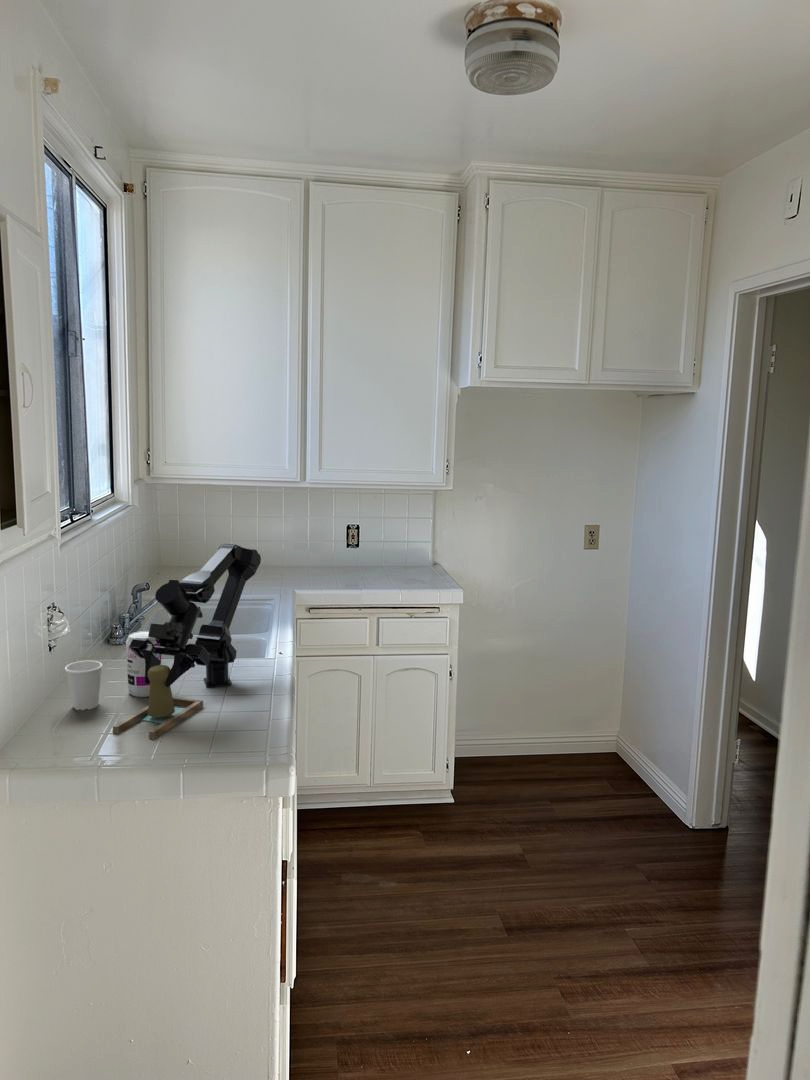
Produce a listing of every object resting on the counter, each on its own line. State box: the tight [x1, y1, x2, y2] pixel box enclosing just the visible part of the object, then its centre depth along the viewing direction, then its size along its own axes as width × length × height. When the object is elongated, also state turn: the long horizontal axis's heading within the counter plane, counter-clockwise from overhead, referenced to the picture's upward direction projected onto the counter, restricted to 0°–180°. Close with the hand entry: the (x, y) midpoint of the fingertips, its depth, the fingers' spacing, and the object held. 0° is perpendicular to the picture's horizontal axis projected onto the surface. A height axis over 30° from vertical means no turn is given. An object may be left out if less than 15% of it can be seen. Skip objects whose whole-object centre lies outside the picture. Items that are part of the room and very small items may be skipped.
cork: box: [147, 664, 176, 717], centre depth 184 cm, size 6×6×11 cm
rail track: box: [112, 695, 204, 740], centre depth 185 cm, size 20×10×2 cm, turn 163°
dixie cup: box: [64, 660, 103, 711], centre depth 192 cm, size 8×8×10 cm
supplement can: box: [125, 630, 163, 698], centre depth 201 cm, size 8×8×15 cm
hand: (156, 685), depth 183 cm, fingers closed on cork, 5 cm apart
